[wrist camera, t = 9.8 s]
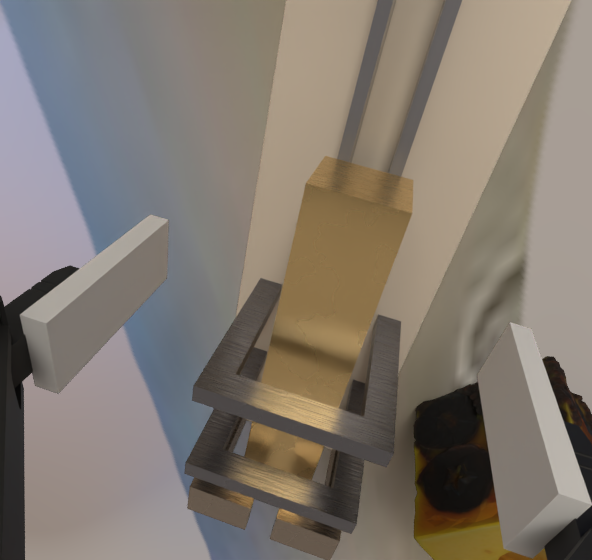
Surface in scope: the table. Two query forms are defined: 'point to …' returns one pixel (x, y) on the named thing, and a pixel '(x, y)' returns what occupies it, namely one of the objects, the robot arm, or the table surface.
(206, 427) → the collar
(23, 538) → the robot arm
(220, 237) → the table surface
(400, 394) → the table surface
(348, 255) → the long golden plank
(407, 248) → the long cream board
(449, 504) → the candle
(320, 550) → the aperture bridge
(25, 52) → the table surface
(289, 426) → the collar
